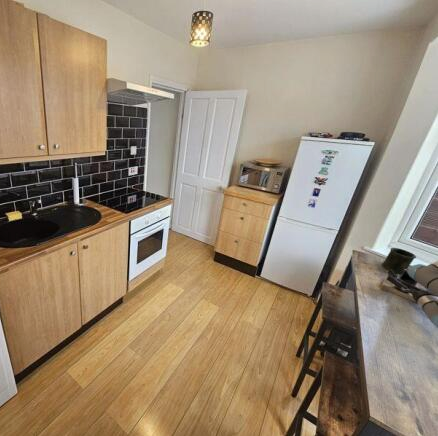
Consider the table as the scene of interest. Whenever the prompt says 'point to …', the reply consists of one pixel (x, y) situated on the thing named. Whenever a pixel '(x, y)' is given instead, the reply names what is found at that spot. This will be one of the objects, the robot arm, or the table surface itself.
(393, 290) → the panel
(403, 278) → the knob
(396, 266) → the mug
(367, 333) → the table surface
